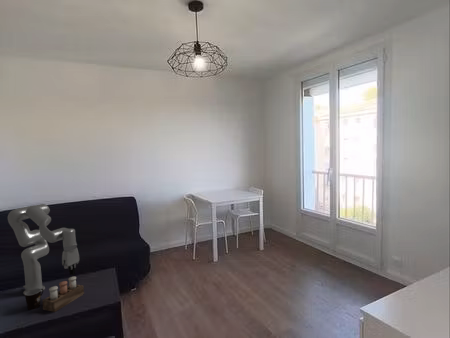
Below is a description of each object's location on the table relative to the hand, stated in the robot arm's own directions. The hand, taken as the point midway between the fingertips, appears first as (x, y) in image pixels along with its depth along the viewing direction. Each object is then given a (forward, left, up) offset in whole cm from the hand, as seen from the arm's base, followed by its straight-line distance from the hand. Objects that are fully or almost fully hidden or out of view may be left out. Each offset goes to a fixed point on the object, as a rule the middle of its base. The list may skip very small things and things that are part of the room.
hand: (72, 274), depth 187 cm
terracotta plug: (-1, -7, -11) cm, 13 cm away
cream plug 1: (-1, -14, -11) cm, 18 cm away
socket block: (-1, -7, -15) cm, 17 cm away
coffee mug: (-14, -16, -15) cm, 26 cm away
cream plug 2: (-1, 0, -11) cm, 11 cm away
